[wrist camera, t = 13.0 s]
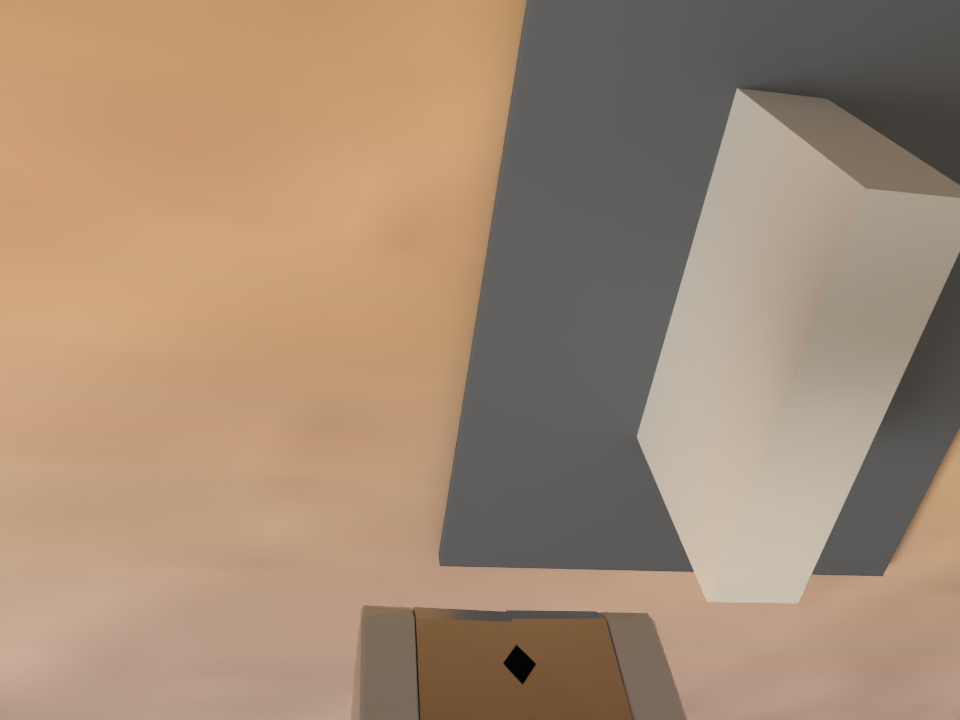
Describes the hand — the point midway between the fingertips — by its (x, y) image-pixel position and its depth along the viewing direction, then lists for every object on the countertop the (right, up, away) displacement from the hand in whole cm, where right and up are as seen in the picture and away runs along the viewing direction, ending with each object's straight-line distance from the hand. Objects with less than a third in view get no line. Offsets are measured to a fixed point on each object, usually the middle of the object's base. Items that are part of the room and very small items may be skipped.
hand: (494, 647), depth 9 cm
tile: (+5, +5, +9) cm, 11 cm away
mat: (+6, +5, +10) cm, 12 cm away
